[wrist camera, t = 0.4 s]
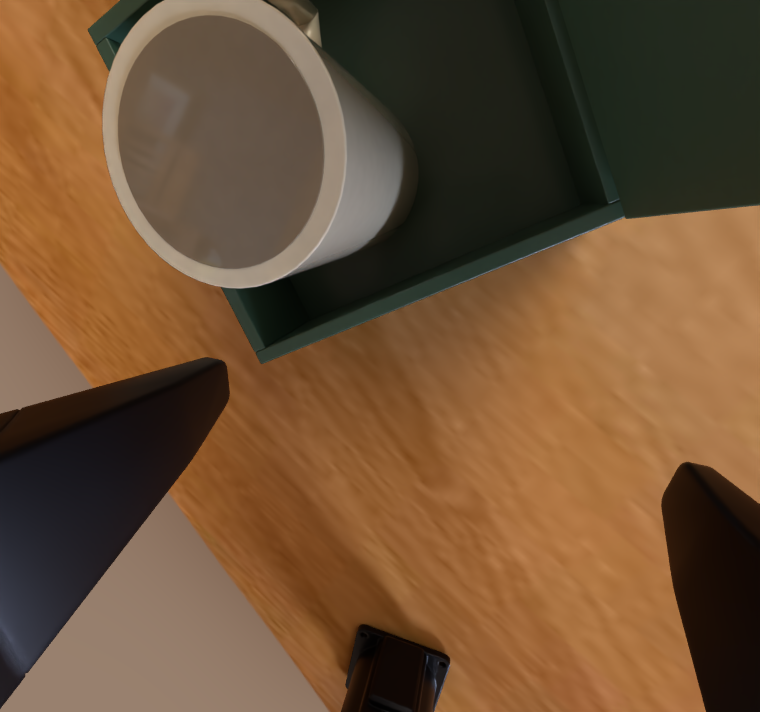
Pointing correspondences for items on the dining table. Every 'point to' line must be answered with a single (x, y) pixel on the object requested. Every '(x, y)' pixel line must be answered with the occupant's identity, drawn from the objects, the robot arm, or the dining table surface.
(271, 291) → the chest
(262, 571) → the dining table surface
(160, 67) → the cream hollow round container
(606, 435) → the dining table surface
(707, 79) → the chest lid
